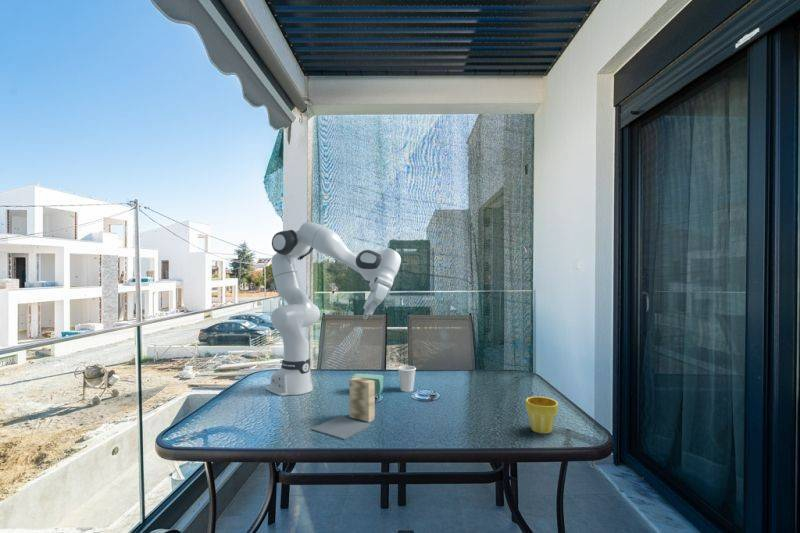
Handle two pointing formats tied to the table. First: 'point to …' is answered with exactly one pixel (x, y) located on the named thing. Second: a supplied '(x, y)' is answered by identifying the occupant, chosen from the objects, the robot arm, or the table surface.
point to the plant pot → (541, 413)
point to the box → (377, 378)
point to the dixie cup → (406, 377)
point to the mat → (341, 427)
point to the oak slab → (362, 399)
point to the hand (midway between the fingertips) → (367, 316)
